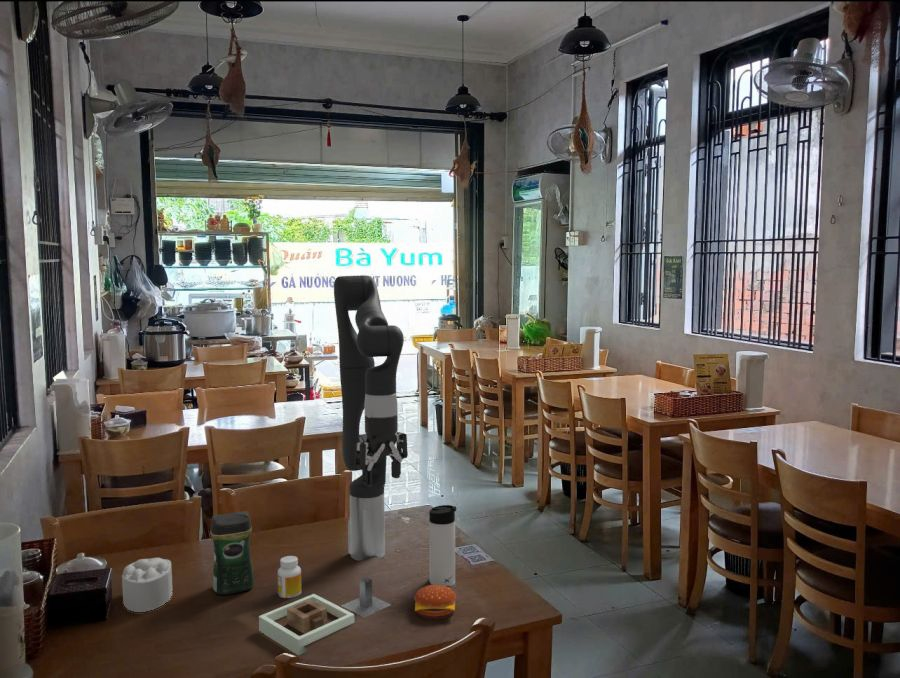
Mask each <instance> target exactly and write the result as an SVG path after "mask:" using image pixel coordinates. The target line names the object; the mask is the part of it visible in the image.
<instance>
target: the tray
mask: <svg viewBox="0 0 900 678" xmlns="http://www.w3.org/2000/svg"><path fill="white" fill-rule="evenodd" d="M308 600H312V601H314V602H316V603H318V604H320V605H321V606H323V607H325V608H327V613H329V614H331V615H332V616H334V617H336V618H337V619H335V620H333V621H330V622H327V624H325V625H324V626H321V627H319V628H317V629H315V630H311V631H309V632H307V633H305V634H301V635H298V634H296V633H295V632H293V631H292V630H289V629H288V628H287V627H284V626H283V625H281V624H280V623H278V622H276V621H277V620H279V619H281V618H284V617H287V609H288V608H291V607H293V606H296V605H298V604H301V603H303V602H305V601H308ZM355 622H356V621H355V613H354V612H352V611H350V610H348V609H346V608H344V607H342V606H341V607H340V606H339V605H337V604H335V603H333V602H331V601H329V600H327V599H325V598H324V597H321V596H319V595H317V594H315V593H312V594H310V595H307V596H304V597H302V598H299V599H298V600H295V601H293V602H291V603H288V604H286V605H283V606H280V607H278V608H275V609H273V610H271V611H268V612H266V613H263V614H261V615H259V616H258V631H259V632H260V631H261V632H260V633H262V634H263V633H264V634H263V635H265V636H267V637H268V638H270V639H271V640H272V641H274V642H276V643H277V644H279V645H281V646H283V647H284V648H286V649H287V650H289V651H290V652H292V653H294V654H296V655H297V656H301V655H303V654H305V653H307V652H309V651H311V650H310V649H309V648H307V647H305V646H308V645H309V644H311V643H314V642H316V641H318V640H320V639H323V638H325V637H327V636H329V635H331V634H333V633H335V632H337V631H340V630H341V629H344V628H346V627H348V626H351V625H353V624H355Z"/></svg>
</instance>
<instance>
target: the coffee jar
mask: <svg viewBox="0 0 900 678" xmlns="http://www.w3.org/2000/svg"><path fill="white" fill-rule="evenodd" d="M210 522H211V523H210V524H211V525H210V531H209V532H210V537H211V540H212V542H213V571H212V589H213V591H214V592H215V593H216V594H218V595H230V594H235V593H241V592H246V591H249V590H250V589H252V588H253V587H254V586H255V576H254V568H253V567H254V566H253V561H252V555H251V546H250V543H251V542H250V538H251V534H252V531H253V530H252V529H253V528H252V523H251V518H250V515H249V512H248V511H246V510H244V511H237V512H229V513H224V514H222V513H221V514H214V515H212V517H211V521H210Z"/></svg>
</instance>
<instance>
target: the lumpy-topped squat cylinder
mask: <svg viewBox="0 0 900 678" xmlns="http://www.w3.org/2000/svg"><path fill="white" fill-rule="evenodd" d="M172 571H173V570H172V561H171V560H170V559H168V558H166V559H165V558H161V557H151V558H141V559H137V560H136V561H134V562H132V563H130V564H128V565H126V566H125V567H124V569H123V572H122V575H121V587H122V605H123V604H124V606H125V607H126V608H127V609H128V610H131V611H134V612H146V611H150V610H153V611H155V610H154V609H156V608H158V607H160V606H162V605H164V604H165V603H166V602H168V601H169V600H170V601H171V599H172V597H173V592H172V591H173V575H172V573H173V572H172ZM171 596H172V597H171ZM170 598H171V599H170ZM170 601H169V602H170ZM169 602H168V603H169ZM165 605H166V604H165ZM165 605H164V606H165ZM124 606H123V607H124ZM162 607H163V606H162ZM160 608H161V607H160ZM158 609H159V608H158ZM128 610H127V611H128ZM156 610H157V609H156ZM150 612H151V611H150Z"/></svg>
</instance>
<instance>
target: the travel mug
mask: <svg viewBox="0 0 900 678" xmlns="http://www.w3.org/2000/svg"><path fill="white" fill-rule="evenodd" d="M456 511H457V506H454V505H450V504H442V505H437V506H434V507H432V508H431V509H430V510H429V514H428V516H429V519H428V532H429V533H428V540H429V541H428V545H429V546H428V547H429V548H428V551H429V552H428V553H429V554H428V555H429V560H428V561H429V562H428V563H429V566H428V567H429V572H428V573H429V576H428V577H429V583H430V585H443V586H446V587H451V588H455V587H456V518H455V516H456V514H455V513H456Z"/></svg>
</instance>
